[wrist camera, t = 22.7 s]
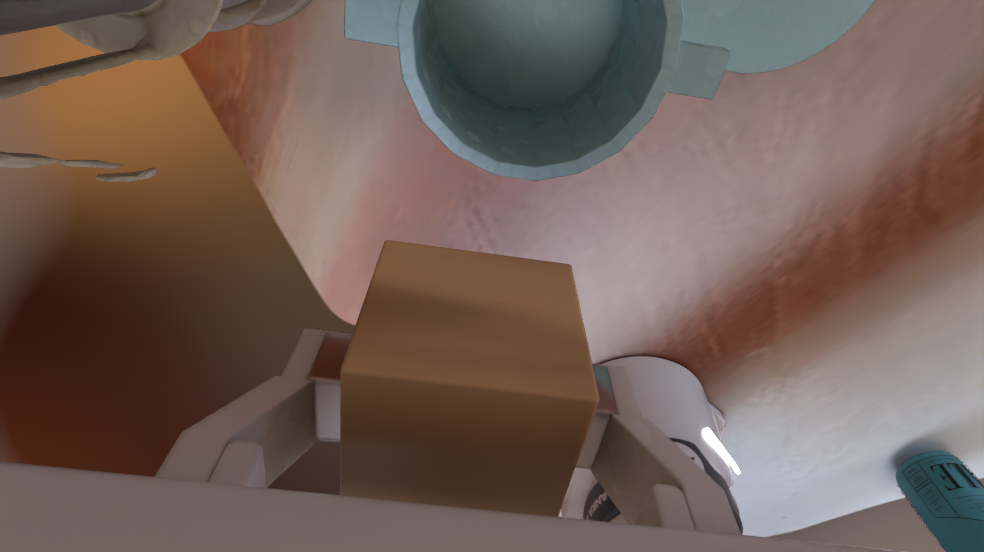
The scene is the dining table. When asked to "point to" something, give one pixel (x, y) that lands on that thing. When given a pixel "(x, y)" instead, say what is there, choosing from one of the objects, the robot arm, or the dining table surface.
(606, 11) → the pot
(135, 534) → the robot arm
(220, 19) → the lamp
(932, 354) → the dining table surface
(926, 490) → the beverage bottle
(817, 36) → the pot lid
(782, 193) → the dining table surface
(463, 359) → the block
